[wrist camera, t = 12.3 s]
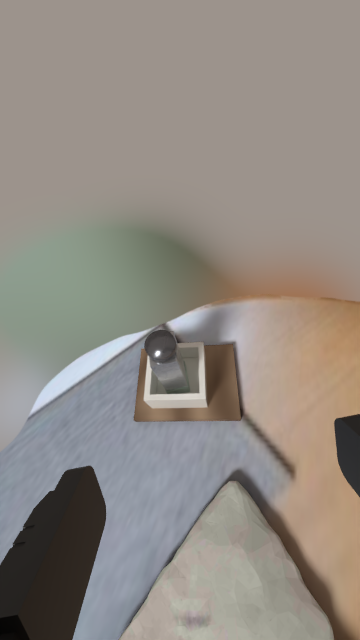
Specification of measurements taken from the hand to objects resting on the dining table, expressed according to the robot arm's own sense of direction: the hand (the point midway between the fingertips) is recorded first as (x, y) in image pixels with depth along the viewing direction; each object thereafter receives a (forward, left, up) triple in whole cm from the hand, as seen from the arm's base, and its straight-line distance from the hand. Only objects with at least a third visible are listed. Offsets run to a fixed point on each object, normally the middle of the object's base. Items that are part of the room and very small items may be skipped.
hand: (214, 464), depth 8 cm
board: (+5, -13, -31) cm, 34 cm away
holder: (+6, -13, -29) cm, 33 cm away
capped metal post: (+6, -12, -29) cm, 32 cm away
